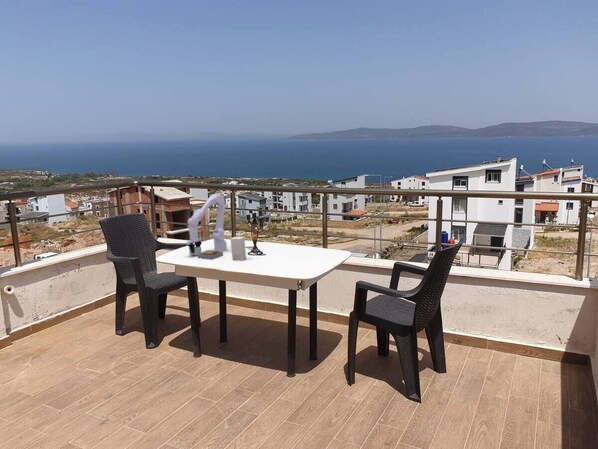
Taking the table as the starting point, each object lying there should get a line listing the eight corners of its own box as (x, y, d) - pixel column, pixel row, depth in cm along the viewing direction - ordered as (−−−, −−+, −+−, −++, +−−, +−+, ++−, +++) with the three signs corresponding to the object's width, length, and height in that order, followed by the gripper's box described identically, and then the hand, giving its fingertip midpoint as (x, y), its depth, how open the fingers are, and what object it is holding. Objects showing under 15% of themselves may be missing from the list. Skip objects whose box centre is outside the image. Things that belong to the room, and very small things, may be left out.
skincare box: (246, 258, 308) (245, 236, 306) (242, 260, 302) (241, 238, 299) (235, 257, 310) (234, 236, 308) (231, 260, 304) (230, 238, 302)
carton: (194, 253, 323) (193, 246, 322) (201, 253, 320) (201, 247, 319) (189, 254, 318) (189, 247, 318) (197, 255, 315) (196, 248, 314)
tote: (209, 255, 321) (209, 250, 321) (223, 256, 315) (222, 252, 315) (198, 259, 310) (197, 254, 310) (212, 260, 304) (211, 255, 304)
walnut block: (209, 255, 318) (209, 249, 317) (218, 256, 314) (218, 250, 314) (202, 257, 311) (202, 252, 310) (211, 258, 307) (211, 253, 307)
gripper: (196, 232, 325) (197, 249, 327) (182, 235, 312) (184, 254, 314) (203, 232, 322) (205, 250, 324) (190, 236, 309) (191, 254, 311)
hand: (195, 252), depth 319 cm, fingers closed on carton, 5 cm apart
